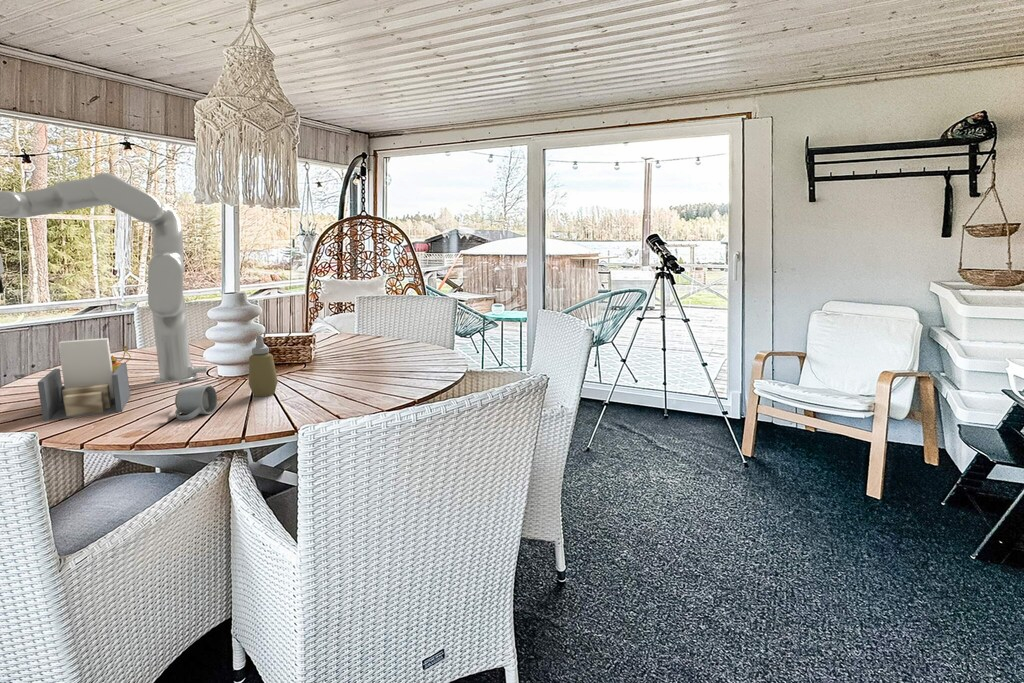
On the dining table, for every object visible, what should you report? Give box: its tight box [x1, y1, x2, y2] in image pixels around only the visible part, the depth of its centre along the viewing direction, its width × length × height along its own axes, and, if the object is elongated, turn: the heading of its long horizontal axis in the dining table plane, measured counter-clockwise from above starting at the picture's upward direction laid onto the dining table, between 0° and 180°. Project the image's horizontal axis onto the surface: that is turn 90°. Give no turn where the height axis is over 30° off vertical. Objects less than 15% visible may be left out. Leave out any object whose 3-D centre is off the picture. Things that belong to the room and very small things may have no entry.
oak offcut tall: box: [62, 384, 112, 413], centre depth 165 cm, size 10×3×6 cm, turn 115°
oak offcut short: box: [64, 391, 105, 416], centre depth 161 cm, size 8×3×5 cm, turn 115°
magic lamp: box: [111, 344, 132, 373], centre depth 211 cm, size 7×18×11 cm, turn 88°
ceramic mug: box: [174, 384, 218, 421], centre depth 162 cm, size 11×8×8 cm
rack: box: [37, 362, 131, 422], centre depth 166 cm, size 17×18×12 cm
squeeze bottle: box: [248, 334, 279, 398], centre depth 182 cm, size 8×8×18 cm
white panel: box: [57, 337, 115, 398], centre depth 168 cm, size 11×3×18 cm, turn 115°
